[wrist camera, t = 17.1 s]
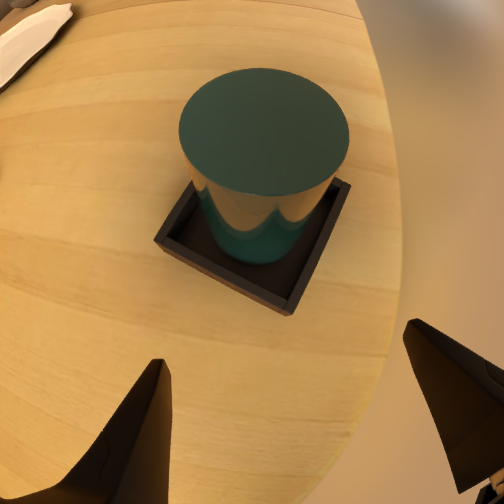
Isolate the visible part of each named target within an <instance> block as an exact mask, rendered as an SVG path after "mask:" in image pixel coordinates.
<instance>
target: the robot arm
mask: <svg viewBox="0 0 504 504" xmlns="http://www.w3.org/2000/svg"><path fill="white" fill-rule="evenodd" d="M403 341H404V345H405V347H406V350H407V353H408V356H409V359H410V362H411V365H412V368H413V371H414V374H415V376H416V378H417V380H418V383H419V385H420V388H421V390H422V392H423V395H424V397H425V400H426V402H427V404H428V407H429V409H430V412H431V414H432V417H433V419H434V422H435V424H436V427H437V430H438V432H439V435H440V438H441V440H442V444H443V446H444V449H445V452H446V454H447V458H448V461H449V464H450V467H451V471H452V473H453V477H454V480H455V484H456V487H457V491H458V493H459V494H461V493H463V492H464V491H466V490H468V489H470V488H472V487H473V486H475V485H477V484H478V483H480V482H482V481H484V480H485V479H487V478H489V480H490V483H488V484H487V485H486V486H484V487H483V488H482V489H480V492H479V494H478V497H477V500H476V503H475V504H504V370H502V369H501V368H499V367H497V366H495V365H494V364H492V363H491V362H489V361H487V360H485V359H484V358H483V357H481V356H479V355H478V354H476V353H474V352H473V351H471V350H470V349H468V348H466V347H465V346H463V345H462V344H460V343H458V342H457V341H455V340H453V339H452V338H450V337H448V336H447V335H445V334H443V333H442V332H440V331H439V330H437V329H435V328H434V327H432V326H430V325H429V324H427V323H425V322H423V321H422V320H420V319H418V318H416V319H412V320H409V321H408V323H407V325H406V328H405V331H404V334H403ZM171 430H172V389H171V374H170V371H169V369H168V367H167V364H166V362H165V360H164V359H152V360H151V361H150V363H149V364H148V366H147V367H146V368H145V370H144V371H143V373H142V374H141V376H140V377H139V378H138V380H137V381H136V383H135V384H134V385H133V387H132V388H131V390H130V391H129V393H128V394H127V395H126V397H125V398H124V400H123V401H122V403H121V404H120V405H119V407H118V408H117V410H116V411H115V413H114V414H113V416H112V417H111V418H110V420H109V421H108V423H107V424H106V426H105V427H104V429H103V431H101V433H100V434H99V436H98V437H97V439H96V440H95V441H94V443H93V444H92V445H91V447H90V448H89V449H88V451H87V452H86V453H85V454H84V455H83V457H82V458H81V459H80V460H79V461H78V462H77V464H76V465H75V466H74V467H73V468H72V469H71V470H70V472H69V473H68V474H67V475H66V476H65V477H64V478H63V479H62V480H61V481H60V482H59V483H57V484H56V485H54V486H52V487H50V488H47V489H44V490H41V491H38V492H35V493H32V494H29V495H26V496H23V497H19V498H15V499H3V498H1V497H0V504H168V489H169V463H170V445H171Z"/></svg>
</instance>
